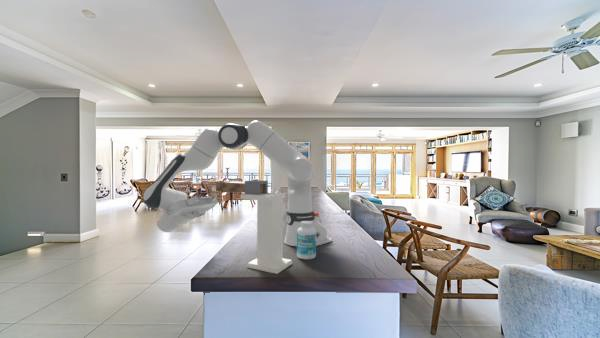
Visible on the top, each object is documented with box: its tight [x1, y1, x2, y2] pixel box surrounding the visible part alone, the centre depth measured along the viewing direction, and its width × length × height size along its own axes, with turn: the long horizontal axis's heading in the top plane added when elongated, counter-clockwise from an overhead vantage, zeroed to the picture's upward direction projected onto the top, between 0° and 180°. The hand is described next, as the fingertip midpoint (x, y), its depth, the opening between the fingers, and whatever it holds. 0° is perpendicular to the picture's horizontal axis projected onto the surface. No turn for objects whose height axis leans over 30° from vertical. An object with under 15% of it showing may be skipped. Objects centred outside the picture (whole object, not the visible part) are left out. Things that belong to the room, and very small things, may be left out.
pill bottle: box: [296, 221, 317, 260], centre depth 105 cm, size 8×7×14 cm
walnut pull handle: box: [215, 182, 263, 194], centre depth 101 cm, size 20×3×3 cm, turn 63°
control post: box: [240, 179, 293, 275], centre depth 96 cm, size 15×10×30 cm, turn 63°
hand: (207, 196), depth 108 cm, fingers open, 8 cm apart
